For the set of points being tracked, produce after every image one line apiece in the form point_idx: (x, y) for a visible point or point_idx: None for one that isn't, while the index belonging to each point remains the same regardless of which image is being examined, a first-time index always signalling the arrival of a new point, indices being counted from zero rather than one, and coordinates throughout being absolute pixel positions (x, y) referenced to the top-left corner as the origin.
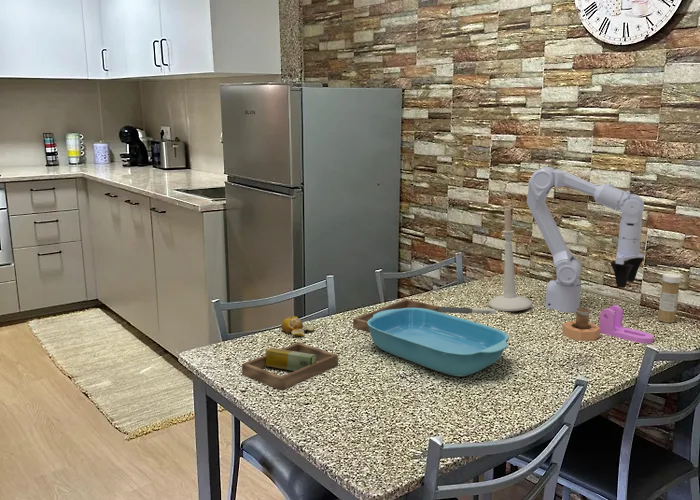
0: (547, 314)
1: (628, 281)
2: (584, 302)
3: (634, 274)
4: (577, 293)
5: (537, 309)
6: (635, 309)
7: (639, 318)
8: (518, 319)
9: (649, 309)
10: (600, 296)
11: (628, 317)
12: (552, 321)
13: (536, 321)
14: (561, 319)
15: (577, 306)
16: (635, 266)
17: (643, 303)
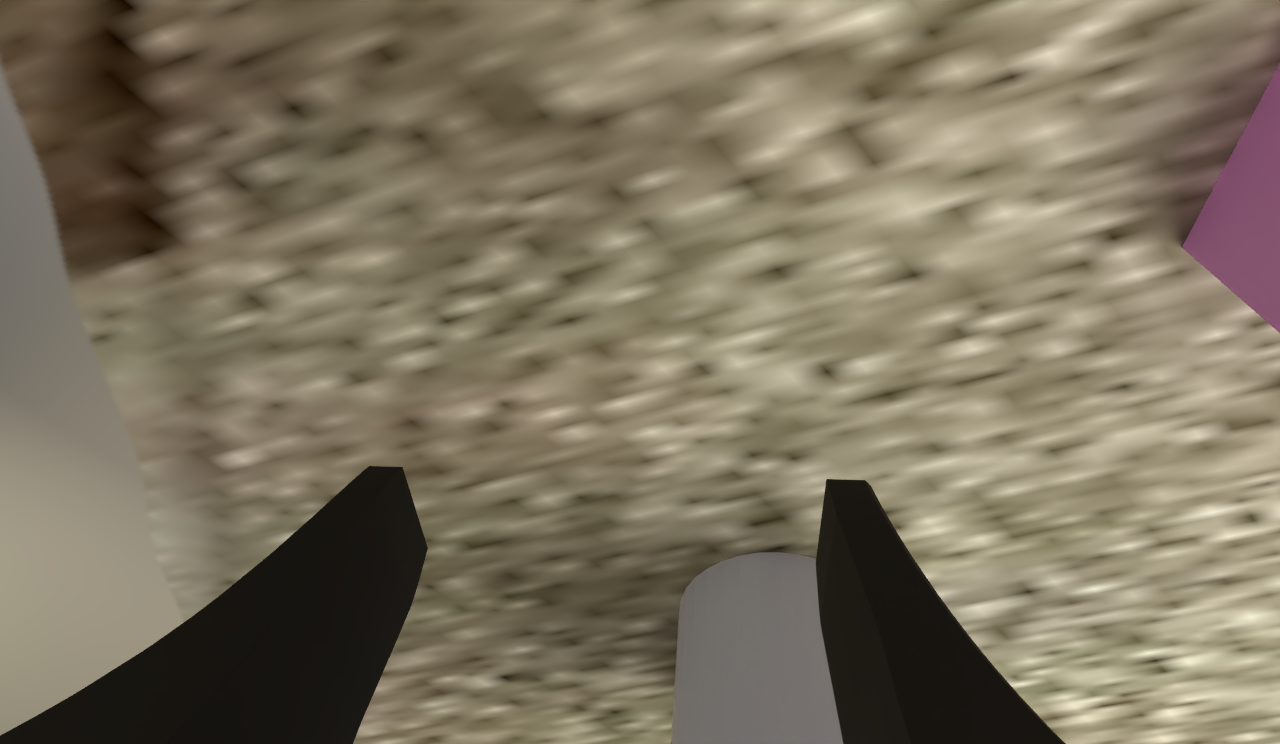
0: (1002, 660)
1: (418, 521)
2: (516, 576)
3: (331, 570)
4: (831, 707)
5: None
6: (348, 232)
7: (628, 93)
8: (1225, 737)
9: (216, 119)
10: (265, 541)
11: (676, 199)
12: (1179, 605)
13: (1228, 667)
14: (1089, 578)
15: (804, 592)
16: (236, 731)
17: (89, 236)
